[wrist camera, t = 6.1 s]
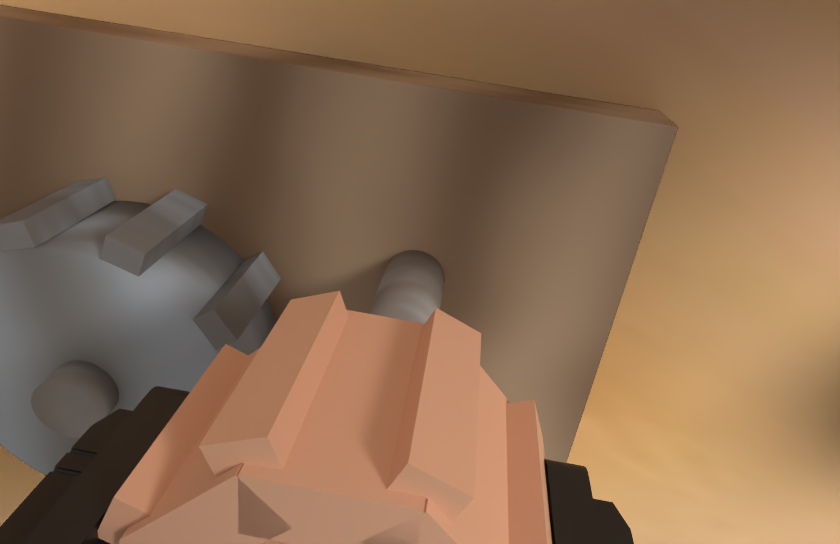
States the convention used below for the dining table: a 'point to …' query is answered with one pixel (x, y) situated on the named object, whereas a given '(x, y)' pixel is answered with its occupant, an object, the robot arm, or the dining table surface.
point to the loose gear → (342, 443)
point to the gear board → (292, 216)
